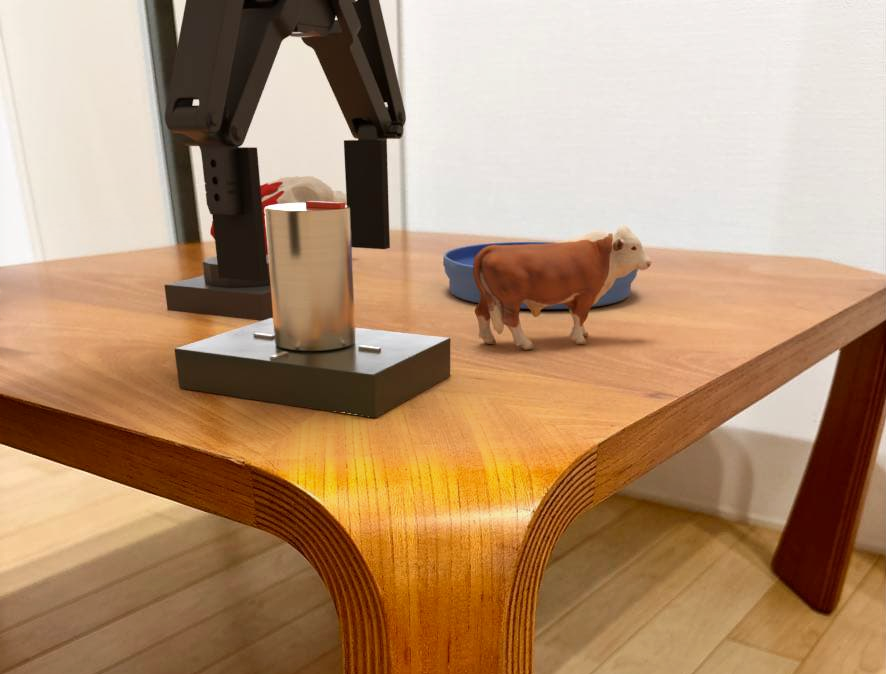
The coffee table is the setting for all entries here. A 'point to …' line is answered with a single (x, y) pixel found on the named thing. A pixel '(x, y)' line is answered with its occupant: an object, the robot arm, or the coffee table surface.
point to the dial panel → (316, 369)
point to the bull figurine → (551, 279)
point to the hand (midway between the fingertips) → (312, 262)
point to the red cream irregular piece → (295, 194)
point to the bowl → (465, 288)
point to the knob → (311, 275)
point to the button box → (221, 295)
